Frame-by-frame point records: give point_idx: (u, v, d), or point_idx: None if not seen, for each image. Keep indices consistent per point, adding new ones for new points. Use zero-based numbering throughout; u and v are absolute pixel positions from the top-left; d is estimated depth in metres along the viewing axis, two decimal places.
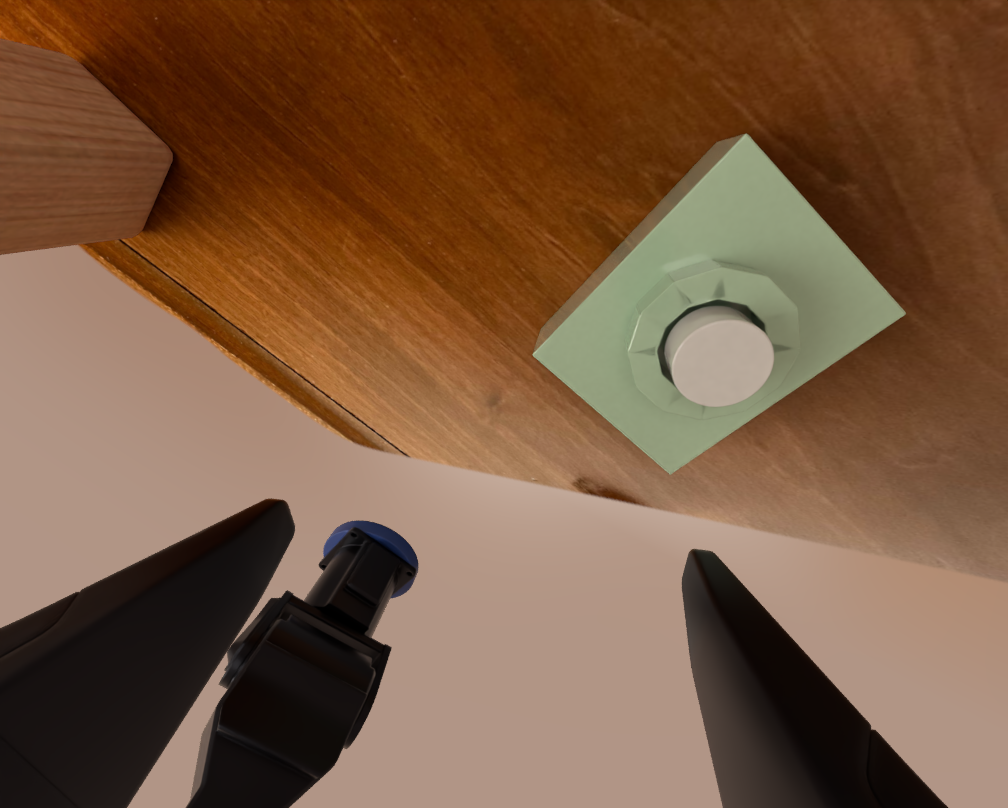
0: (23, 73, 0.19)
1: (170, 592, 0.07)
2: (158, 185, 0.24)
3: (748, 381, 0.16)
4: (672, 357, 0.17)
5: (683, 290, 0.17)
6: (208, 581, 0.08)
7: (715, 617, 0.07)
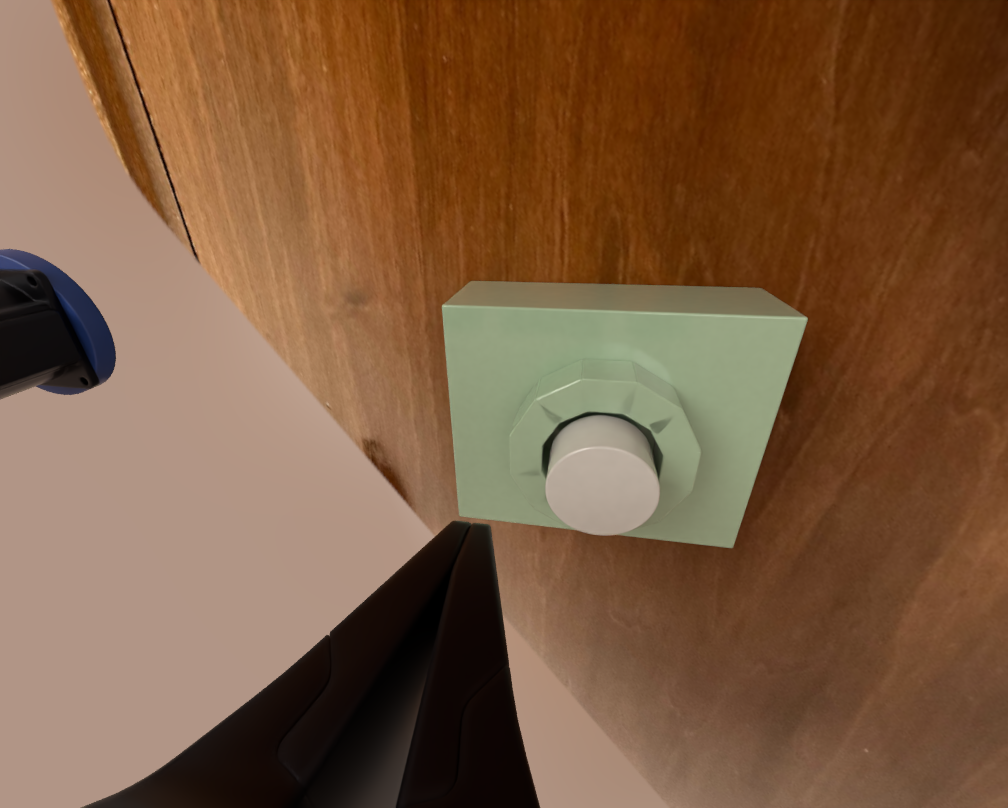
0: None
1: (415, 633, 0.07)
2: None
3: (605, 523, 0.14)
4: (571, 449, 0.13)
5: (635, 396, 0.14)
6: (434, 617, 0.07)
7: None
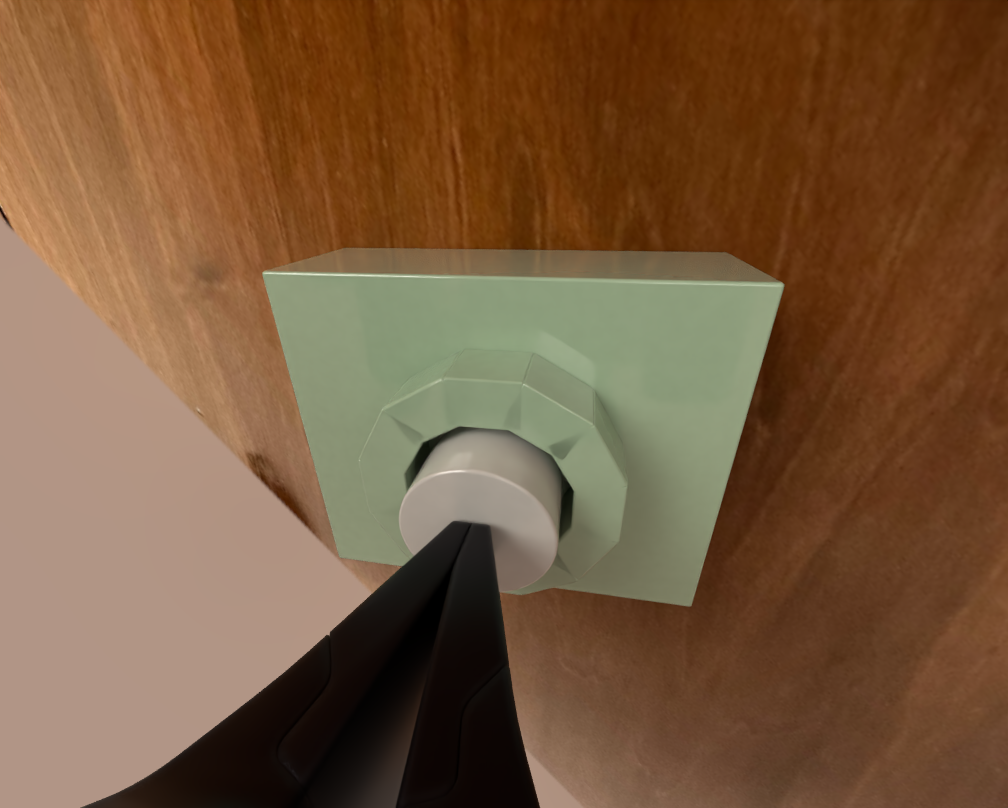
0: None
1: (415, 633, 0.07)
2: None
3: None
4: (427, 472, 0.09)
5: (523, 404, 0.09)
6: (434, 617, 0.07)
7: None
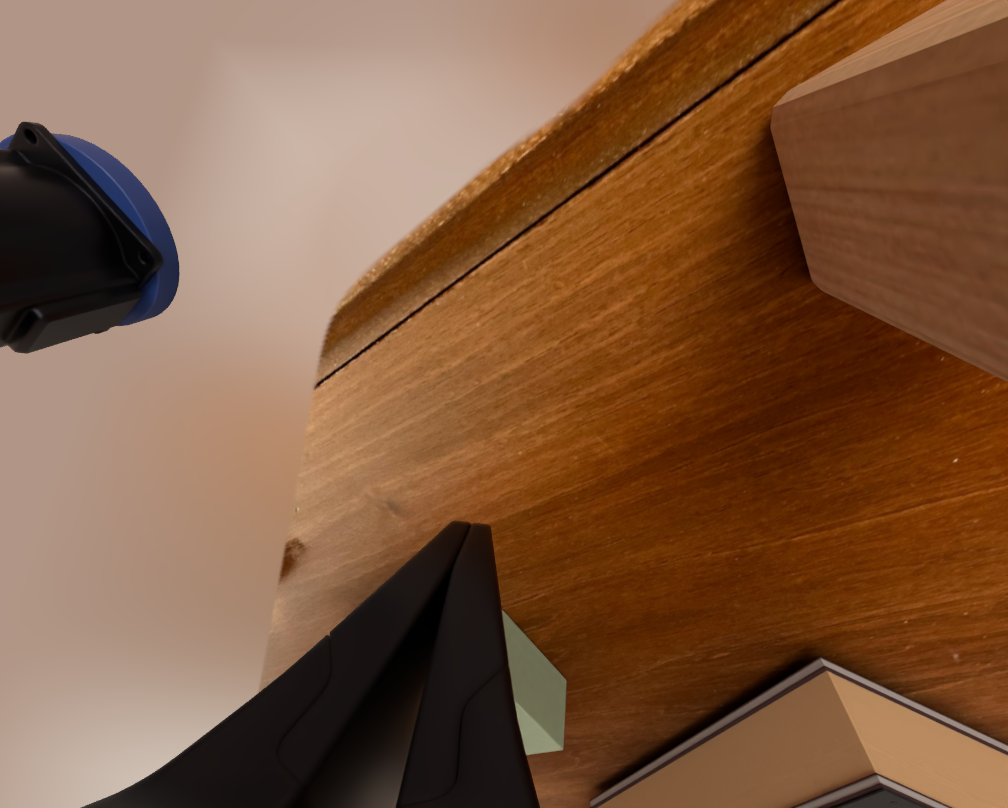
0: None
1: (415, 633, 0.07)
2: (801, 238, 0.14)
3: None
4: None
5: None
6: (434, 617, 0.07)
7: None
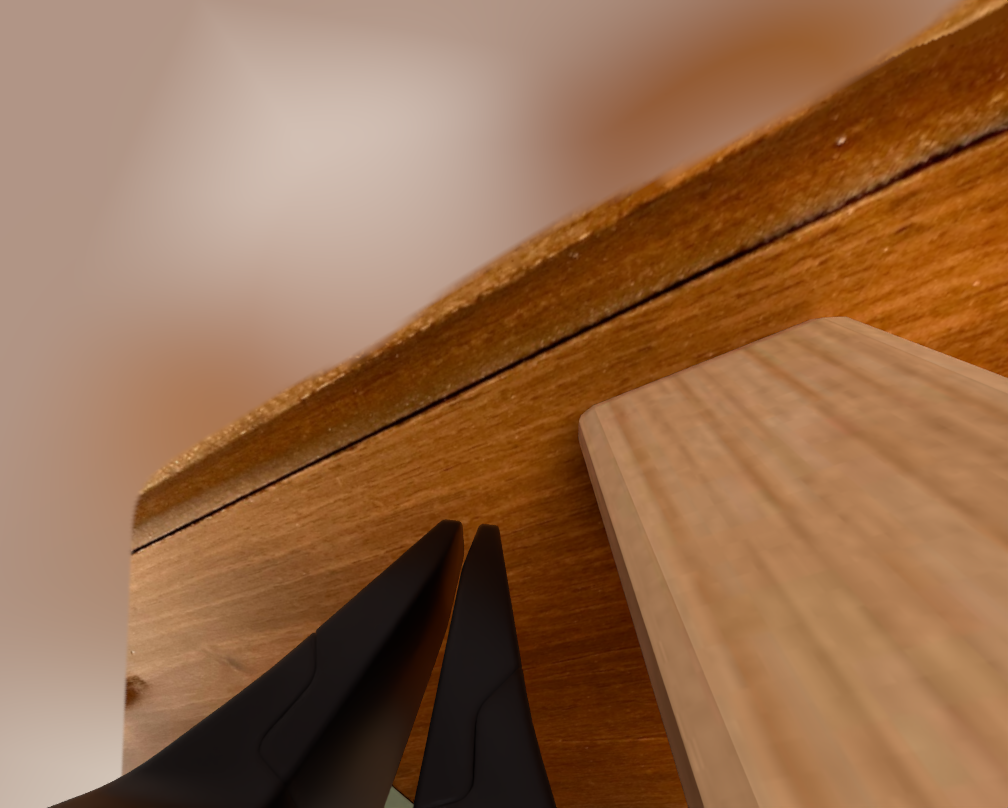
0: None
1: (402, 630, 0.07)
2: None
3: None
4: None
5: None
6: (422, 615, 0.07)
7: None
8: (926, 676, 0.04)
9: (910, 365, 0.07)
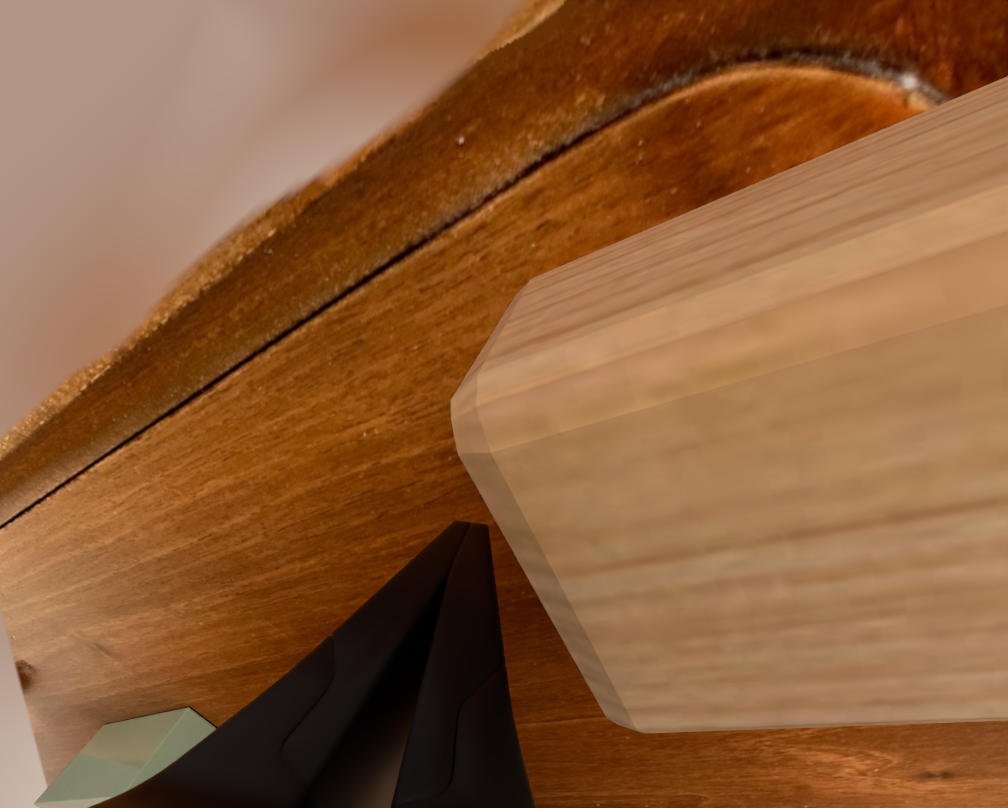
0: None
1: (418, 633, 0.07)
2: (603, 665, 0.06)
3: None
4: None
5: None
6: (437, 617, 0.07)
7: None
8: None
9: (648, 231, 0.08)
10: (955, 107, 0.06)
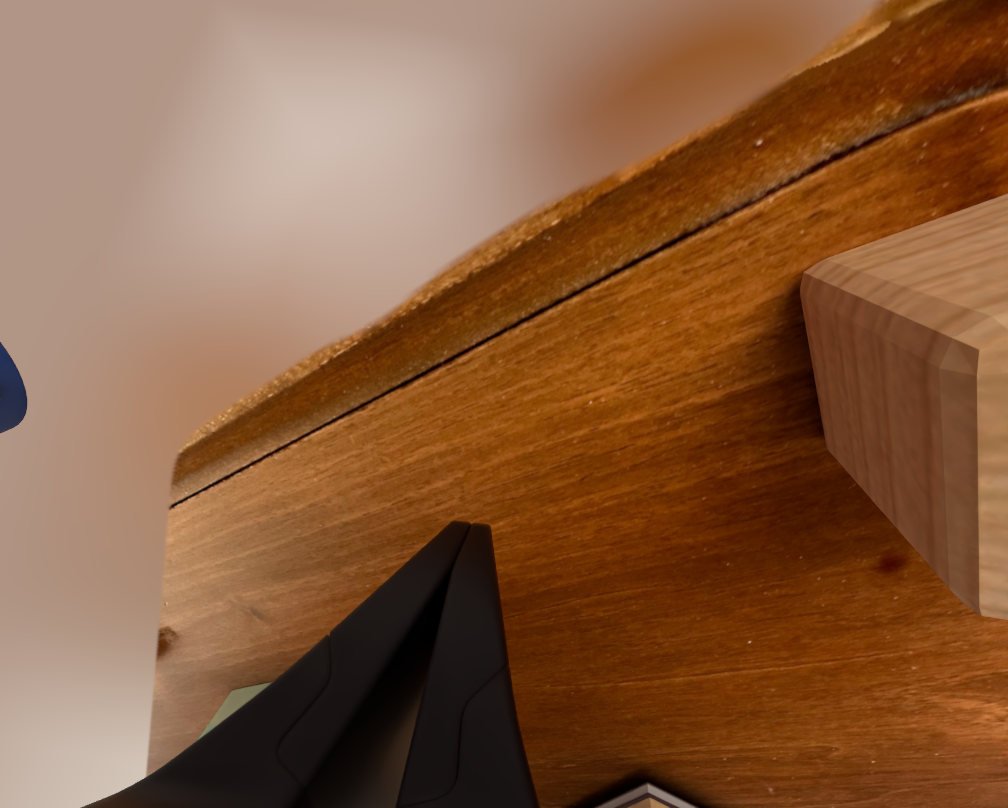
0: None
1: (415, 633, 0.07)
2: None
3: None
4: None
5: None
6: (434, 617, 0.07)
7: None
8: None
9: (953, 216, 0.10)
10: None
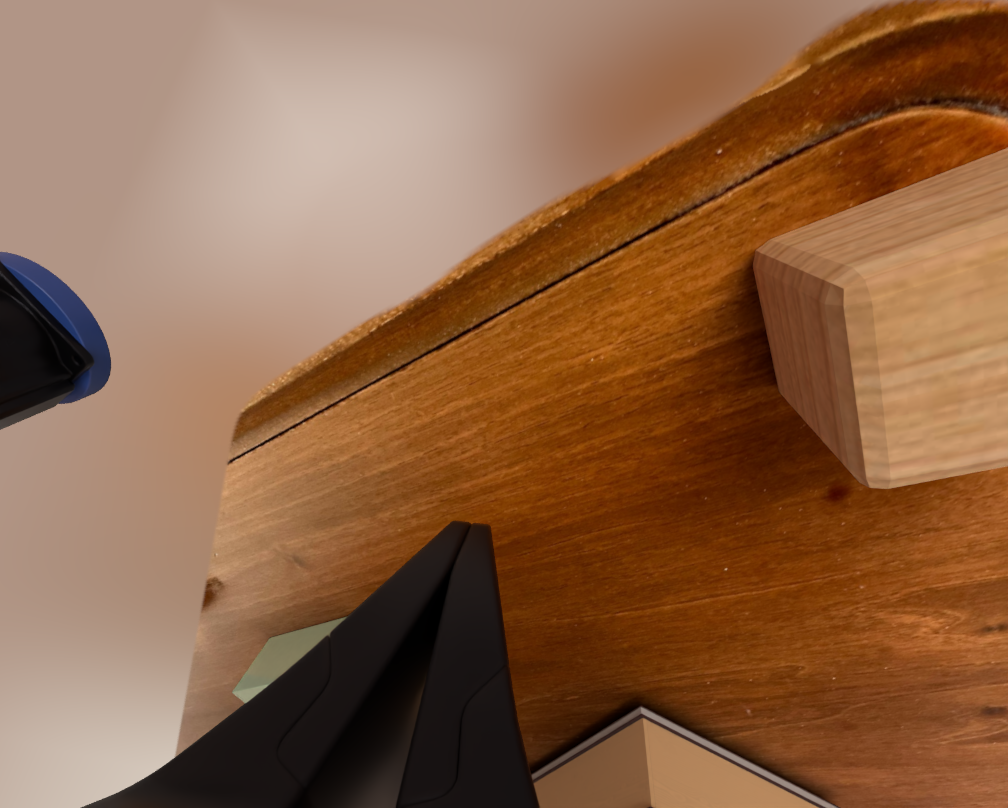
0: None
1: (415, 633, 0.07)
2: (885, 432, 0.11)
3: None
4: None
5: None
6: (434, 617, 0.07)
7: None
8: None
9: (860, 206, 0.14)
10: None
